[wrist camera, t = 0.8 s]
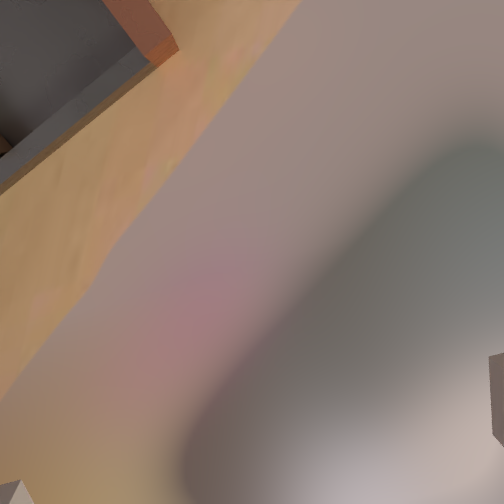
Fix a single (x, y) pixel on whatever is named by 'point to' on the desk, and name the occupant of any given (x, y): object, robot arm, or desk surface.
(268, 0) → the desk surface
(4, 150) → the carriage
